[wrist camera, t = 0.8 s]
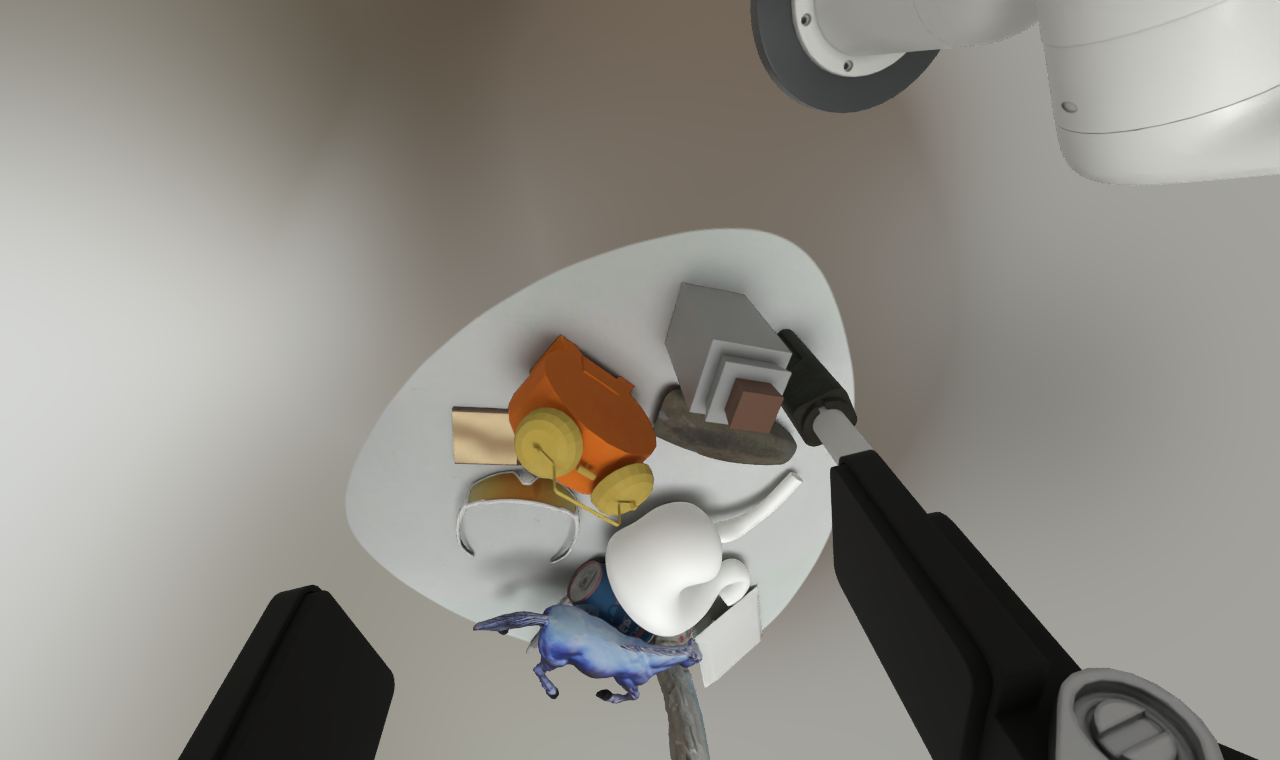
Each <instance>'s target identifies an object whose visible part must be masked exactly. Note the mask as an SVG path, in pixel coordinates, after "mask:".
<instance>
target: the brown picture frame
mask: <svg viewBox="0 0 1280 760" xmlns="http://www.w3.org/2000/svg"><path fill="white" fill-rule="evenodd" d="M452 422H453V441H454V460H455V464H489V465H522V464H521V463H520V461H519V460H518V458H517V455H516V452H515V449H514V436H515V435H514V432H513V430H512V427H511V425H510V422H509V410H508V409H491V408H469V407H453V409H452Z"/></svg>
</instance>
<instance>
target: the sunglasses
mask: <svg viewBox="0 0 1280 760" xmlns="http://www.w3.org/2000/svg"><path fill="white" fill-rule="evenodd" d="M556 488H557V490H558V491H560V492H561V493H563V494H565V495H567V496H569V497H570V498H572V499H574V500H576V498H575V496H574V494H573V493H572V492H571V491H570V490H569V489H568V488H567V487H566V486H564V485H562V484H561V483H560V482H558V481H557V480H556ZM496 503H517V504H528V505H535V506H541V507H545V508H549V509H552V510H555V511H558V512H564V513H566V514H568V515H569V516H571V517H572V518H574V523H575V536H574V539H573V541H572V543H571V545H570V546H569V548H568V549H567V550H566V551H565V552H564V553H563V554H561V555H559V556H558V557H556V558H554V559H552V560H551V562H550V564H553V563H555V562H558V561H560V560H562V559H563V558H565V557H566V556H567V555H568V554H569V553H570V552H571V550H572V548H573V547H574V544H575V542H576V539H577V536H578V532H579V522H580V520H579V511H578V506H577V505H576V504H574V503H572V502H570V501H568V500H567V499H565V498H563V497H561V496H559V495H557V494H556V493H555V492H554V489H553V478H552V479H549V478H540V477H538V476H537V477H535V478H534V479H533V480H532V481H531V482H524V481H523V480H522V479H521V478H520V476H519V475H518V474H517V473H516V472H515V471H508V472H501V473H497V474H493V475H490V476H488V477H485V478H483V479H481V480H479V481H478V482H476V483H474V484H473V485H472V486H471V488H470V489H469V491H468V493H467V496H466V499H465V500H464V501H463V503H462V506H461V508H460V510H459V513H458V516H457V523H456V533H457V541H458V544H459V546H460V547H461V549H462V550H463V551H464V552H465V553H466V554H468V555H469V556H471V557H473V558H474V553H473V552H472V551H470V550H469V549H468V548H467V547H466V546H465V545H464V544H463V542H462V540H461V537H460V530H459V525H460V522H461V519H462V517H463V515H464V513H465V511H466V509H467V508H469V507H472V506H475V505H479V504H485V505H487V504H496Z"/></svg>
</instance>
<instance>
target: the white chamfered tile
mask: <svg viewBox="0 0 1280 760" xmlns="http://www.w3.org/2000/svg"><path fill="white" fill-rule="evenodd" d="M761 638H762V626H761V616H760V605H759V595H758V586H757V587H755V588H754V589H753V590H752V591H751V592H749V593H748V594H747V595H746V596H745V597H743V598H742V599H741V600H740V601H739V602H737V603H736V604H735V605H734V606H733V607H731V608H730V609H729V610H728V611H727V612H725V613H724V614H723V615H722V616H721V617H719V618H718V619H717V620H716V621H713V620H712V623H711V625H710V626H709V627H707V628H706V629H705V630H704V631H703V632H701V633H700V634H699V635H698V636H697V637H695V642H696V643H697V644H698V646H699V649H700V651H701V652H702V655H703V657H702V660H701V662H700V667H701V672H702V677H703V682H704V687H707V686H709V685H710V684H712V683H714V682H715V681H717V680H718V679H719V678H720V677H721V676H722V675H723V674H724V673H726V672H727V671H728V670H729V669H730V668H731V667H732V666H733V665H734V664H735V663H737V662H738V661H739V660H740V659H741V658H742V657H743V656H744V655H746V654H747V653H748V652H749V651H750V650H751V649H752V648H753V647H754V646H755V645H757V644H758V643H759V642H760V640H761Z"/></svg>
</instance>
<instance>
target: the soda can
mask: <svg viewBox="0 0 1280 760" xmlns="http://www.w3.org/2000/svg"><path fill="white" fill-rule="evenodd" d="M567 594H568V598H569V600H570V601H571V602H572V604H573V606H575V607H577V608H580V609H582V610H584V611H585V612H587V613H588V614H589V615H591V616H596V617H598V618H601V619H602V620H604V621H606V622H607V623H608V624H610V625H611V626H613V627H614V628H615V629H617V630H618V631H620V632H621V633H623V634H624V635H627V636H631V637H636V638H640V639H641V640H643V641H644V642H646V643H647V644H648V643H649V642H650V641H651V639H652V638H653V637H654V635H655V634H653V633H650V632H648V631H647V630H645V629H643V628H642V627H641V626H639V625H638V624H637V623H636V622H635V621H633V620H632V619H631V618H630V616H629V615H628V614H627V613H626V612H625V610H624V609H623V608H622V606H621V605H620V603H619V602H618V600H617V598H616V596H615V594H614V592H613V590H612V588H611V585H610V582H609V579H608V575H607V570H606V564H604V563H599V562H598V561H590V562H587V563H586V564H584V565H583V566H581V567H580V568H579V569H578V570H577V572H576V573H575V574H574V576H573V577H572V579H571V581H570V583H569V586H568V592H567Z"/></svg>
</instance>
